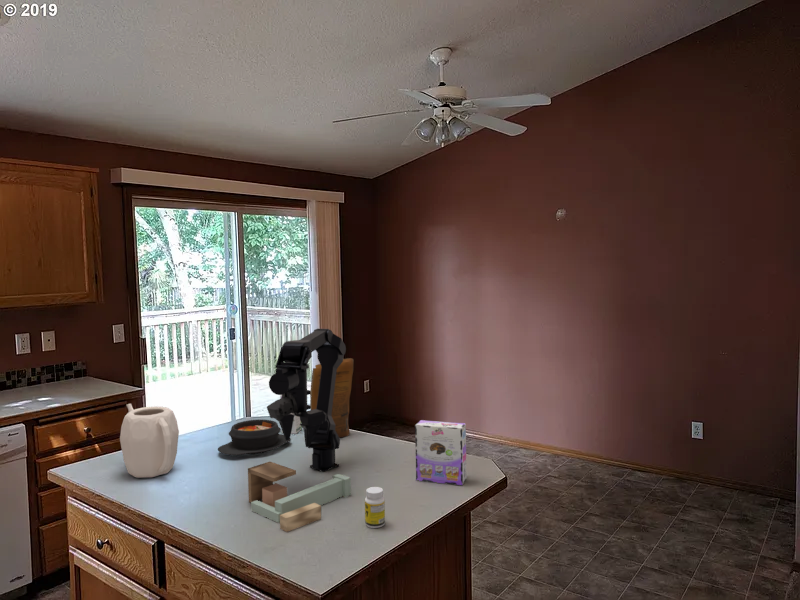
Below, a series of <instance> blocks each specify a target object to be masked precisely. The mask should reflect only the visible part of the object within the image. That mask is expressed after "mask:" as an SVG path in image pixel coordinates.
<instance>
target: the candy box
mask: <svg viewBox="0 0 800 600" xmlns="http://www.w3.org/2000/svg"><path fill="white" fill-rule="evenodd" d="M414 430H415V431H414V435H415V440H414V441H415V442H414V443H415V445H414V446H415V481H417V480H419V481H418V482H426V481H428V483H435V482H437V484H445V483H447V484H446V485H454V484H456V485H457V486H463V484H464V483H465V482H466V480H467V424H466V423H465V422H454V421H453V422H450V421H438V420H437V421H436V420H426V419H425V420H424V419H421V420H419V421H418V422H417V423H416V424H415V425H414Z"/></svg>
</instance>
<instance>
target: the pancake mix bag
mask: <svg viewBox="0 0 800 600" xmlns="http://www.w3.org/2000/svg"><path fill="white" fill-rule="evenodd" d="M353 373H354V358H351V357H350V358H349V357H347V358H343V362H342V363H341V364H340V366H339V367H338V368H337V371H336V380H335V389H334V397H333V406H332V414H331V416H332V419H333V421H334V423H335V431H336V433H337V434H338V436H339V438H340V439H341V438H346V437H348V436H349V435H350V434H351V433H350V432H351V431H350V427H349V414H350V397H351V391H352V383H353V382H352V381H353ZM320 375H321V364H320V363H319V364H315V367H313V368H312V373H311V383H310V394H309V396H310V399H309V401H310V402H309V405H311V409H310V410H314V409H316V407H317V399H318V391H319V383H320Z"/></svg>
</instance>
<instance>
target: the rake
mask: <svg viewBox="0 0 800 600" xmlns="http://www.w3.org/2000/svg"><path fill="white" fill-rule="evenodd" d="M351 478H352V477H349V476H346V475H345V474H340V473H336V474H334V475H332V478H331V479H329V480H326V481H324V482H320V483H318V484H316V485H313V486H311V487H310V486H309V487H307V488H305V489H303V490H299V491H298V492H295V493H293V494H292V493H291V494H290V495H287V497H284V498H281V499H279V500H276V501H275V508H274V507H272V506H270V505H267V504H265V503H263V502H262V501H261V500H259V501H258V500H256V501H253V502H251V503H250V509H251V510H252V511H251V512H253V511H254V512H253V513H255V512H256V514H257V513H258V514H257V515H259V514H260V515H259V516H262V517H263V518H266V517H267V518H266V519H268V518H269V520H270V521H272V522H273V521H274V522H276V523H277V522H278V523H277V524H280V523H279V522H280V515H281V514H284V513H287V512H290V511H293V510H295V509H298V508H301V507H304V506H307V505H309V504H312V503H316V504H318V505H321V506H323V504H324V505H325V504H329V503H330V501H331V502H333V501H335V500H338V499H340V498H342V496H344V497H343V498H348V497H350V496H351V495H352V484H351V483H352V480H351ZM349 495H350V496H349ZM347 496H348V497H347ZM339 497H340V498H339ZM337 498H338V499H337ZM332 500H333V501H332Z"/></svg>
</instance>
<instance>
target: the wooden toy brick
mask: <svg viewBox="0 0 800 600" xmlns="http://www.w3.org/2000/svg"><path fill="white" fill-rule="evenodd" d="M321 519H322V505H318V504H316V503H312V504H309V505H307V506H304V507H301V508H298V509H295V510H293V511H290V512H287V513H284V514H281V515H280V523H279V528H280V530H282V531H284V532H286V533H288V532H290V531H293V530H296V529H298V528H301V527H303V526H306V525H308V524H309V525H310V524H312V523H314V522H316V521H319V520H321Z"/></svg>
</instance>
